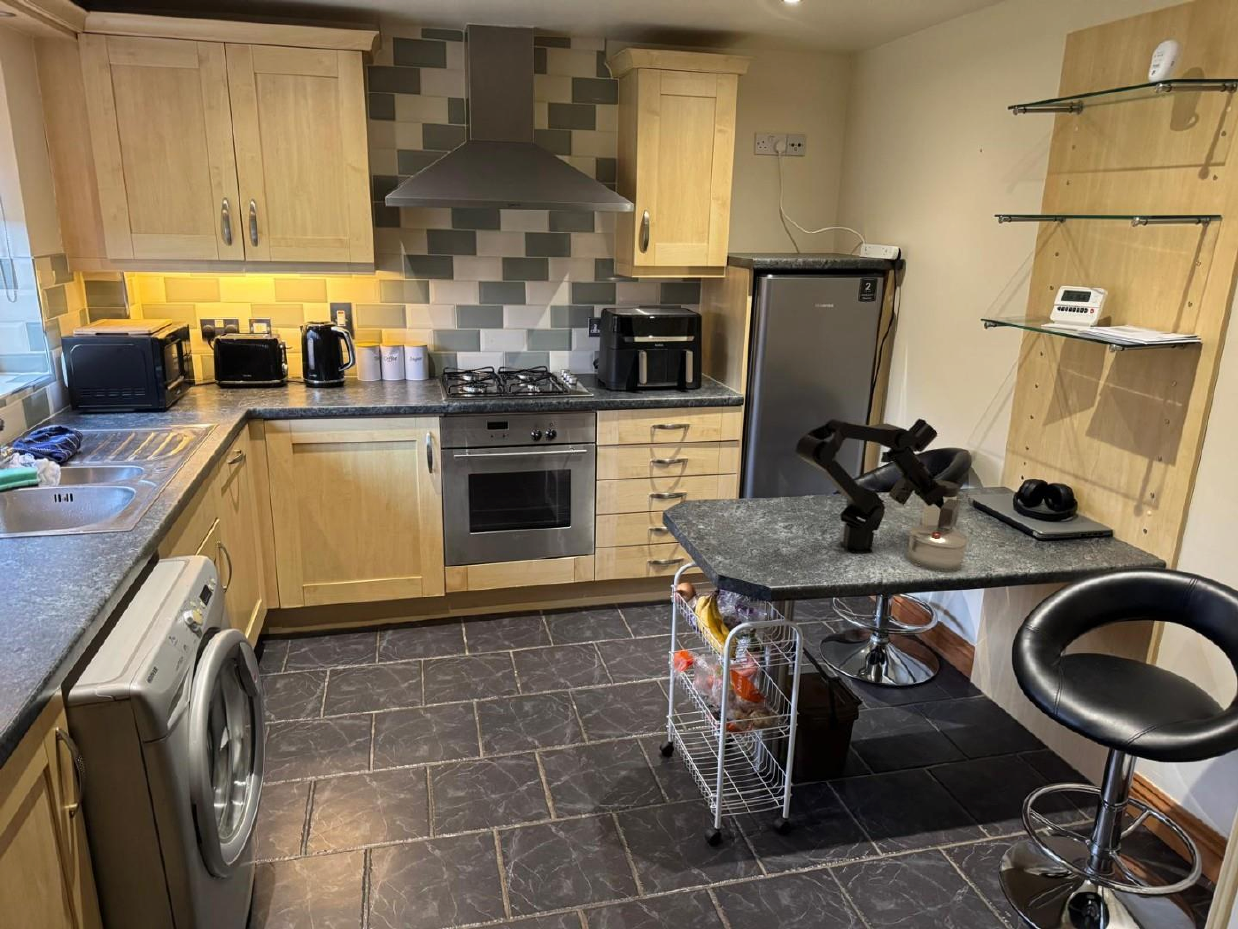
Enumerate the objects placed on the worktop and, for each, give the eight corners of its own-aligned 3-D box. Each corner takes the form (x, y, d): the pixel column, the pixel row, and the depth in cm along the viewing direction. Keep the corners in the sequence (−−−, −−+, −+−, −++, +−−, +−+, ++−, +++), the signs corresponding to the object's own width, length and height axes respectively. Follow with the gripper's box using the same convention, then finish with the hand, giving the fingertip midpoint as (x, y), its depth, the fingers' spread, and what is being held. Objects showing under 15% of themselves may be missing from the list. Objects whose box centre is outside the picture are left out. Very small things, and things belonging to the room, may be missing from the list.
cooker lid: (961, 552, 199) (965, 527, 197) (904, 539, 205) (907, 515, 204) (977, 528, 216) (981, 505, 215) (924, 516, 223) (928, 494, 221)
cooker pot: (956, 576, 201) (960, 552, 199) (901, 562, 207) (905, 539, 205) (970, 552, 217) (975, 530, 215) (919, 540, 223) (922, 519, 221)
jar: (944, 519, 241) (951, 480, 238) (958, 529, 233) (965, 488, 230) (915, 519, 240) (921, 479, 237) (927, 529, 232) (934, 488, 229)
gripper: (872, 473, 224) (905, 515, 227) (893, 494, 206) (929, 540, 210) (906, 447, 222) (940, 490, 225) (931, 466, 204) (967, 513, 207)
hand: (943, 508), depth 217 cm, fingers closed
